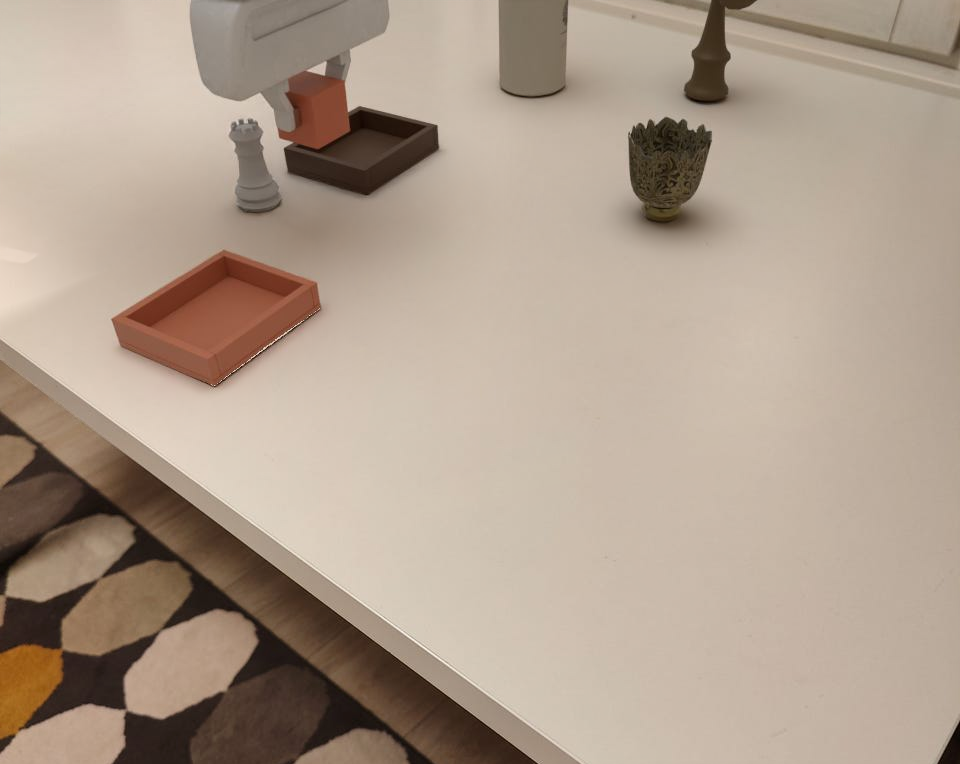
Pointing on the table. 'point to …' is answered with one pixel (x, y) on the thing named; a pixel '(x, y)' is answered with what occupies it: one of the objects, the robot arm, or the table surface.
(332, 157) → the walnut tray
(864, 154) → the table surface
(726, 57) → the kendama
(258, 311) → the terracotta tray
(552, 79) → the travel mug
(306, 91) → the terracotta block
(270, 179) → the rook chess piece
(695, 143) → the cup
